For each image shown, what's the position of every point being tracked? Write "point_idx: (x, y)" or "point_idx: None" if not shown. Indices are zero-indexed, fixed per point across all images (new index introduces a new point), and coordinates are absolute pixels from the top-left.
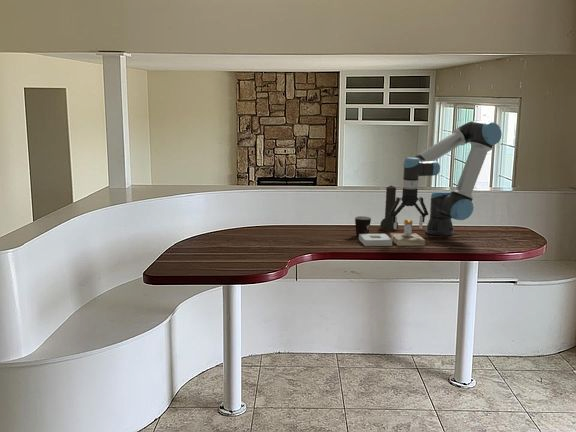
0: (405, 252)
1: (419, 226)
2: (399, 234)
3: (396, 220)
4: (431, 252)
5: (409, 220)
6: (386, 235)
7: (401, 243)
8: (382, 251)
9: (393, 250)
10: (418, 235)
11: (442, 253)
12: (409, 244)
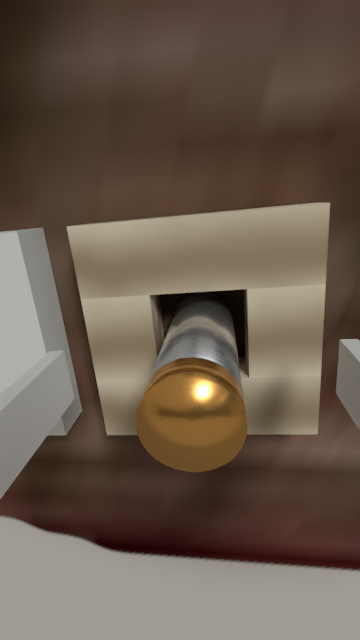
0: (140, 533)
1: (346, 358)
2: (145, 258)
3: (19, 464)
4: (287, 543)
5: (208, 421)
6: (28, 300)
7: None
8: (23, 511)
9: (81, 498)
10: (319, 293)
11: (344, 563)
12: None
